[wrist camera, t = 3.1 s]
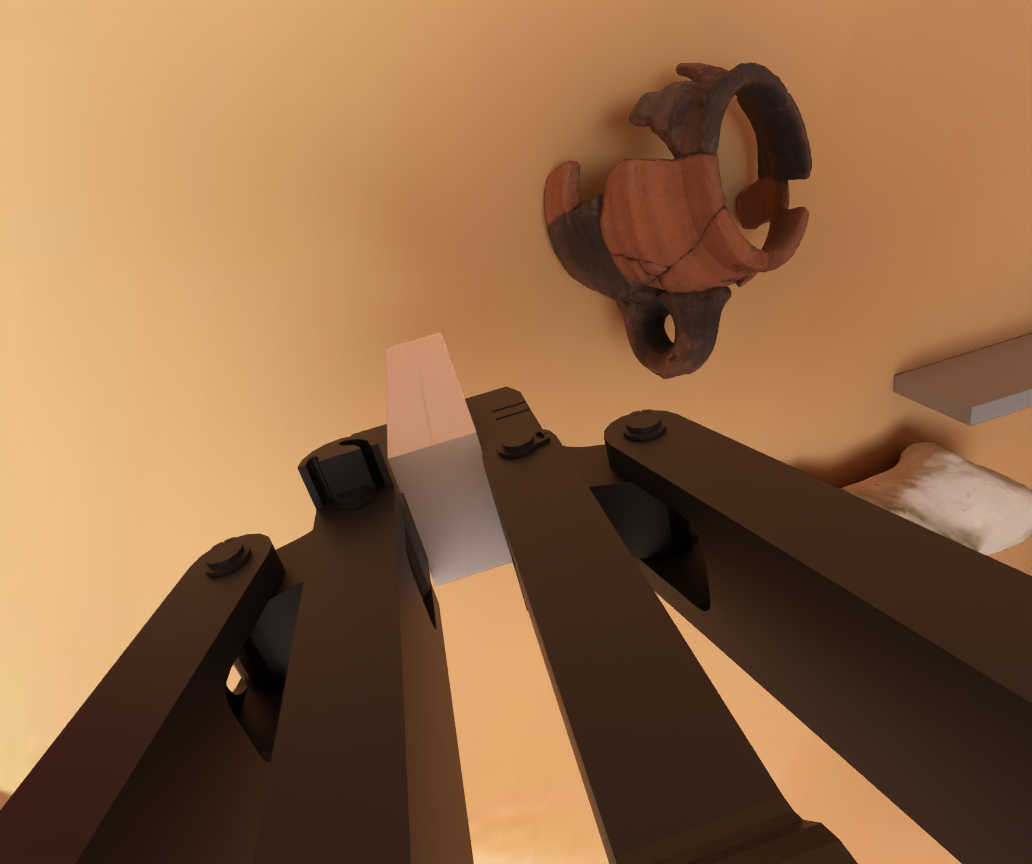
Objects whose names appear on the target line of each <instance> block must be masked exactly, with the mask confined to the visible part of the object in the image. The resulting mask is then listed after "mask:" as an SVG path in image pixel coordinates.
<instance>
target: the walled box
mask: <svg viewBox="0 0 1032 864" xmlns="http://www.w3.org/2000/svg"><path fill="white" fill-rule="evenodd" d="M894 392H895V393H897V394H900V395H902V396H904V397H906V398H909V399H911V400H913V401H915V402H918V403H920V404H922V405H924V406H927V407H929V408H931V409H933V410H936V411H938V412H940V413H942V414H945V415H947V416H949V417H951V418H954V419H956V420H958V421H960V422H963V423H965V424H967V425H969V426H971V425H975V424H978V423H981V422H984V421H987V420H990V419H993V418H997V417H1000V416H1003V415H1006V414H1009V413H1012V412H1015V411H1019V410H1022V409H1025V408H1028V407H1031V406H1032V333H1031V334H1028V335H1025V336H1021V337H1018V338H1015V339H1012V340H1008V341H1005V342H1002V343H999V344H996V345H992V346H989V347H986V348H983V349H979V350H976V351H973V352H970V353H966V354H963V355H960V356H957V357H953V358H950V359H947V360H944V361H940V362H937V363H934V364H931V365H927V366H924V367H921V368H918V369H915V370H911V371H908V372H905V373H902V374H898V375H895V376H894Z"/></svg>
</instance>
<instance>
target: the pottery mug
mask: <svg viewBox="0 0 1032 864" xmlns="http://www.w3.org/2000/svg"><path fill="white" fill-rule="evenodd" d="M676 71H677V74H678V75H681V76H685V77H688V78H690V79H691V80H692V81H693V82H692V81H683V82H676V83H672V84H670V85H668V86H667V87H665V88H664V89H662V90H661V91H658V92H650V93H647V94H645V95H643V96H642V97H641V98H640V99H639V101H638V102H637V104H636V105H635V107H634V108H633V110H632V111H631V113H630V117H629V121H630V123H631V124H633V125H635V126H649V127H650V128H651V130H652V131H653V132H654V133H655V134H657V135H658V136H659V137H660V138H661V139H662V140H663V141H664V142H665V143H666V145H667V146H668V148H669V150H670V151H671V153H672V154H673V156H674V157H675V159H673V160H668V159H657V160H650V159H649V160H645V159H643V160H635V159H626V160H624V161H622V163H621V164H619V165H618V166H616V167H615V168H614V169H613V170H612V172H611V173H610V174H609V175H608V178H607V183H606V186H605V193H604V194H598V195H596V196H595V197H593V198H592V199H591V200H589V201H588V202H587V203H585V204H583V205H581V206H580V204H579V175H580V164H579V163H578V162H576V161H568V162H566V163H564V164H563V165H562V166H561V167H560V168H559V169H557V170H556V171H555V172H553V173H551V174H550V175H549V176H548V178H547V181H546V188H545V214H546V222H547V225H548V233H549V236H550V239H551V242H552V244H553V248H554V251H555V253H556V255H557V256H558V258H559V260H560V261H561V263H562V265H563V267H564V268H565V269H566V270H567V272H568V273H569V274H570V275H571V276H572V277H573V278H574V279H576V280H577V281H579V282H580V283H581V284H583V285H584V286H586V287H588V288H590V289H592V290H595V291H598V292H600V293H602V294H604V295H606V296H608V297H611V298H612V299H613V300H616V301H617V305H618V307H619V308H620V310H621V312H622V315H623V318H624V321H625V326H626V330H627V336H628V339H629V343H630V345H631V348H632V350H633V352H634V354H635V356H636V357H637V359H638V360H639V361H640V362H641V364H642V365H644V366H645V367H646V368H648V369H649V370H651V372H653V373H655V374H656V375H659V376H660V377H662V378H663V379H668V378H673V377H675V376H680V375H683V374H691V373H693V372H695V371H696V370H697V369H698V368H700V367H701V366H702V365H703V364H704V363H705V362H706V360H707V359H708V358H709V356H710V354H711V353H712V351H713V348H714V345H715V342H716V337H717V333H718V327H719V321H720V315H721V311H722V309H723V307H724V305H725V304H726V302H727V301H728V300H729V298H730V297H731V290H730V289H729V287H725V286H728V285H731V284H734V283H736V284H737V286H738V287H741V286H743V285H744V284H746V283H747V282H748V281H749V280H751V279H752V278H753V277H754V276H755V275H756V274H757V273H758V272H767V271H770V270H774V269H776V268H778V267H779V266H781V265H783V264H784V263H786V262H787V261H788V260H789V259H790V258H791V257H792V256H793V254H794V253H795V250H796V249H797V248H798V246H799V244H800V242H801V240H802V238H803V235H804V232H805V229H806V226H807V222H808V217H809V212H808V210H807V209H806V208H805V207H797V208H794V209H789V210H788V206H789V187H788V180H797V179H807V178H809V176H810V172H811V169H812V159H811V150H810V146H809V141H808V137H807V133H806V128H805V125H804V123H803V120H802V117H801V114H800V112H799V109H798V107H797V105H796V103H795V101H794V100H793V98H792V96H791V95H790V94H789V93H788V92H787V89H786V87H785V86H784V84H783V83H782V82H781V80H780V78H779V77H778V76H776V75H774V74H773V73H772V72H771V71H770V70H769V69H767V68H766V67H765V66H762V65H759V64H756V63H747V64H746V63H741V64H739V65H737V66H736V67H735V68H734V69H732V70H730V71H727V70H725V69H723V68H721V67H714V66H711V65H706V64H701V63H680V64H678V65H677V67H676ZM734 95H736V96H737V101H738V103H739V105H740V107H741V109H742V110H743V111H744V113H745V114H746V116H747V117H748V119H749V121H750V123H751V125H752V127H753V129H754V131H755V134H756V140H757V146H758V180H757V181H756V182H755V183H754V184H752V185H750V186H749V187H748V188H747V189H746V190H745V191H744V192H743V193H741V194H740V195H739V197H738V198H737V208H738V215H739V219H740V222H741V225H742V227H743V228H745V229H756V228H758V227H759V226H760V225H761V224H763V223H767V222H770V228H769V231H768V235H767V238H766V241H765V244H764V246H763V248H762V250H759V249H757V248H756V247H754V246H753V245H751V244H750V243H749V242H748V241H747V240H746V239H745V238H744V236H743V235H742V234H741V233H740V231H739V230H738V228H737V226H736V225H735V223H734V221H733V219H732V217H731V215H730V213H729V210H728V209H727V207H726V206H725V198H724V194H723V191H722V186H721V180H720V173H719V165H718V157H717V149H718V142H719V135H720V128H721V122H722V119H723V115H724V113H725V110H726V108H727V106H728V104H729V102H730V100H731V98H732V97H733V96H734ZM657 278H658V280H659V281H660V284H661V286H662V288H663V289H664V290H662V289H659V288H653V287H649V286H645V285H647V284H649V283H650V282H653V281H654V280H655V279H657ZM669 314H671V316H672V318H673V321H674V326H675V340H674V343H673V342H671V340H670V339H669V337H668V336H667V334H666V332H665V328H664V323H665V319H666V317H667V316H668V315H669Z"/></svg>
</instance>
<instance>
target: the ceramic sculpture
mask: <svg viewBox="0 0 1032 864" xmlns="http://www.w3.org/2000/svg"><path fill="white" fill-rule="evenodd" d="M840 489H842V490H844V491H846V492H848V493H851V494H853V495H855V496H857V497H859V498H861V499H864V500H866V501H868V502H870V503H872V504H875V505H877V506H879V507H881V508H883V509H886V510H888V511H890V512H892V513H894V514H896V515H899V516H901V517H903V518H905V519H907V520H910V521H912V522H914V523H916V524H918V525H921V526H923V527H925V528H927V529H929V530H931V531H934V532H936V533H938V534H940V535H942V536H945V537H947V538H949V539H951V540H953V541H956V542H958V543H960V544H962V545H964V546H966V547H969V548H971V549H973V550H975V551H977V552H980V553H982V554H984V555H990V554H994V553H997V552H1000V551H1002V550H1004V549H1006V548H1009V547H1012V546H1015V545H1018V544H1020V543H1021V542H1023V541H1024V540H1025V539H1026V538H1028V537H1029V536H1030V535H1031V534H1032V490H1031V489H1029V488H1028V487H1026V486H1025V485H1023V484H1020V483H1018V482H1015V481H1014V480H1012V479H1010V478H1008V477H1007V476H1004V475H1002V474H1000V473H998V472H995V471H993V470H991V469H988V468H986V467H983V466H980V465H976V464H974V463H972V462H970V461H968V460H966V459H964V458H962V457H961V456H959V455H957V454H956V453H954V452H951V451H949V450H946V449H944V448H943V447H942V446H941V445H939V444H936V443H932V442H919V443H914V444H912V445H910V446H909V447H907V448H906V449H905V450H904V451H903V452H902V453H901V455H900V460H899V463H898V464H897V465H896V466H895V467H894V468H892V469H890V470H888V471H886V472H883V473H880V474H877V475H874V476H872V477H870V478H868V479H866V480H864V481H861V482H858V483H854V484H851V485H848V486H845V487H843V488H840Z"/></svg>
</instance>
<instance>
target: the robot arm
mask: <svg viewBox="0 0 1032 864" xmlns="http://www.w3.org/2000/svg"><path fill="white" fill-rule="evenodd" d="M386 397H387V424H385V425H382V426H379V427H375V428H372V429H369V430H365V431H362V432H359V433H355V434H352V435H351V437H346V438H341V439H338V440H336V441H333V442H330V443H328V444H325V445H323V446H322V447H320V448H318V449H316V450H314V451H313V452H311V453H310V454H309V455H308V456H306V457H305V458H304V459H303V460H302V461H301V463H300V464H299V466H298V470H299V472H300V474H301V477H302V479H303V481H304V483H305V485H306V488H307V490H308V492H309V494H310V496H311V499H312V501H313V503H314V505H315V507H316V510H317V511H316V516H315V522H314V527H313V530H312V531H311V532H309V533H308V534H306V535H304V536H302V537H301V538H299V539H297V540H295V541H293V542H291V543H289V544H287V545H285V546H283V547H281V548H279V549H277V550H275V548H274V546H273V544H272V542H271V540H270V538H269V537H268V536H265V535H262V534H247V535H243V536H240V537H236V538H235V537H233V538H230V539H227V540H225V541H224V543H223V542H221V543H219V544H217V545H215V546H214V547H212V549H211V550H209V551H208V552H207V553H205V554H204V555H202V556H201V557H200V558H199V559H198V560H197V561H196V562H195V563H194V564H193V565H192V566H191V567H190V568H189V569H188V570H187V572H186V573H185V574H184V575H183V577H182V578H181V579H180V581H179V582H178V583H177V584H176V586H175V587H174V588H173V589H172V591H171V592H170V593H169V595H168V596H167V597H166V598H165V600H164V601H163V602H162V604H161V605H160V606H159V607H158V609H157V610H156V611H155V613H154V614H153V615H152V616H151V618H150V619H149V620H148V622H147V623H146V624H145V625H144V627H143V628H142V629H141V631H140V632H139V633H138V634H137V636H136V637H135V638H134V639H133V641H132V642H131V643H130V645H129V646H128V647H127V648H126V650H125V651H124V652H123V654H122V655H121V656H120V657H119V659H118V660H117V661H116V663H115V664H114V665H113V666H112V668H111V669H110V670H109V672H108V673H107V674H106V675H105V677H104V678H103V679H102V681H101V682H100V683H99V684H98V686H97V687H96V688H95V689H94V691H93V692H92V693H91V695H90V696H89V697H88V698H87V700H86V701H85V702H84V704H83V705H82V706H81V707H80V709H79V710H78V711H77V713H76V714H75V715H74V716H73V718H72V719H71V720H70V722H69V723H68V724H67V725H66V727H65V728H64V729H63V731H62V732H61V733H60V734H59V736H58V737H57V738H56V739H55V741H54V742H53V743H52V745H51V746H50V747H49V748H48V750H47V751H46V752H45V754H44V755H43V756H42V757H41V759H40V760H39V761H38V763H37V764H36V765H35V766H34V768H33V769H32V770H31V772H30V773H29V774H28V775H27V777H26V778H25V779H24V781H23V782H22V783H21V784H20V786H19V787H18V788H17V789H16V791H15V792H14V793H13V795H12V796H11V797H10V798H9V800H8V801H7V802H6V804H5V805H4V806H3V808H2V809H1V810H0V864H474V863H473V855H472V848H471V840H470V833H469V825H468V818H467V810H466V803H465V795H464V788H463V780H462V773H461V765H460V758H459V750H458V743H457V735H456V728H455V721H454V713H453V706H452V698H451V691H450V683H449V676H448V668H447V661H446V653H445V646H444V638H443V631H442V623H441V616H440V608H439V603H438V600H437V598H436V595H435V592H434V590H433V587H432V585H431V581H430V573H431V575H432V578H433V581H434V583H435V586H439V585H442V584H446V583H449V582H452V581H455V580H458V579H461V578H464V577H467V576H470V575H473V574H477V573H480V572H483V571H486V570H489V569H492V568H495V567H498V566H501V565H504V564H508V563H511V562H513V564H514V568H515V571H516V574H517V578H518V581H519V585H520V588H521V591H522V595H523V598H524V601H525V605H526V608H527V611H528V612H529V615H530V618H531V621H532V624H533V628H534V631H535V634H536V637H537V640H538V643H539V646H540V649H541V652H542V656H543V659H544V662H545V665H546V668H547V671H548V674H549V677H550V680H551V684H552V687H553V690H554V693H555V696H556V699H557V702H558V705H559V708H560V712H561V715H562V718H563V721H564V724H565V727H566V730H567V733H568V736H569V740H570V743H571V746H572V749H573V752H574V755H575V758H576V761H577V764H578V768H579V771H580V774H581V777H582V780H583V783H584V786H585V789H586V792H587V795H588V799H589V802H590V805H591V808H592V811H593V814H594V817H595V820H596V823H597V827H598V830H599V833H600V836H601V839H602V842H603V845H604V848H605V851H606V855H607V858H608V861H609V864H858V863H857V862H856V861H855V859H854V858H853V857H852V855H851V854H850V853H849V851H848V850H847V849H846V848H845V846H844V845H843V844H842V842H841V841H840V840H839V839H838V838H837V837H836V836H835V835H834V834H833V833H832V832H831V831H829V830H828V829H827V828H826V827H825V826H824V825H823V824H822V823H819V822H813V821H807V820H803V819H802V818H801V817H800V816H799V815H798V814H797V813H795V812H794V811H793V809H792V808H791V806H790V805H789V804H788V802H787V801H786V799H785V798H784V797H783V795H782V793H781V792H780V790H779V789H778V787H777V786H776V784H775V782H774V781H773V779H772V778H771V776H770V774H769V773H768V771H767V770H766V768H765V766H764V765H763V763H762V762H761V760H760V759H759V757H758V755H757V754H756V752H755V751H754V749H753V747H752V746H751V744H750V743H749V741H748V739H747V738H746V736H745V735H744V733H743V732H742V730H741V728H740V727H739V725H738V724H737V722H736V720H735V719H734V717H733V716H732V714H731V712H730V711H729V709H728V708H727V706H726V705H725V703H724V701H723V700H722V698H721V697H720V695H719V693H718V692H717V690H716V689H715V687H714V685H713V684H712V682H711V681H710V679H709V678H708V676H707V674H706V673H705V671H704V670H703V668H702V666H701V665H700V663H699V662H698V660H697V658H696V657H695V655H694V654H693V652H692V651H691V649H690V647H689V646H688V644H687V643H686V641H685V639H684V638H683V636H682V635H681V633H680V631H679V630H678V628H677V627H676V625H675V624H674V622H673V620H672V619H671V617H670V616H669V614H668V612H667V611H666V609H665V608H664V606H663V604H662V603H661V601H660V600H659V598H658V597H657V595H656V593H657V594H658V595H660V596H661V597H662V598H663V599H664V600H665V601H666V602H667V603H669V604H670V605H671V606H672V607H673V608H674V609H675V610H676V611H678V612H679V613H680V614H681V615H682V616H683V617H684V618H685V619H687V620H688V621H689V622H690V623H691V624H692V625H693V626H694V627H696V628H697V629H698V630H699V631H700V632H701V633H702V634H704V635H705V636H706V637H707V638H708V639H709V640H710V641H711V642H713V643H714V644H715V645H716V646H717V647H718V648H719V649H720V650H722V651H723V652H724V653H725V654H726V655H727V656H728V657H729V658H731V659H732V660H733V661H734V662H735V663H736V664H737V665H738V666H740V667H741V668H742V669H743V670H744V671H745V672H746V673H748V674H749V675H750V676H751V677H752V678H753V679H754V680H755V681H757V682H758V683H759V684H760V685H761V686H762V687H763V688H764V689H766V690H767V691H768V692H769V693H770V694H771V695H772V696H773V697H775V698H776V699H777V700H778V701H779V702H780V703H781V704H782V705H784V706H785V707H786V708H787V709H788V710H789V711H790V712H792V713H793V714H794V715H795V716H796V717H797V718H798V719H799V720H801V721H802V722H803V723H804V724H805V725H806V726H807V727H808V728H810V729H811V730H812V731H813V732H814V733H815V734H816V735H817V736H819V737H820V738H821V739H822V740H823V741H824V742H825V743H826V744H828V745H829V746H830V747H831V748H832V749H833V750H834V751H836V752H837V753H838V754H839V755H840V756H841V757H842V758H843V759H845V760H846V761H847V762H848V763H849V764H850V765H851V766H852V767H854V768H855V769H856V770H857V771H858V772H859V773H860V774H861V775H863V776H864V777H865V778H866V779H867V780H868V781H869V782H870V783H872V784H873V785H874V786H875V787H876V788H877V789H878V790H879V791H881V792H882V793H883V794H884V795H885V796H886V797H887V798H889V799H890V800H891V801H892V802H893V803H894V804H895V805H896V806H898V807H899V808H900V809H901V810H902V811H903V812H904V813H905V814H907V815H908V816H909V817H910V818H911V819H912V820H913V821H914V822H916V823H917V824H918V825H919V826H920V827H921V828H922V829H923V830H925V831H926V832H927V833H928V834H929V835H930V836H931V837H933V838H934V839H935V840H936V841H937V842H938V843H939V844H940V845H942V846H943V847H944V848H945V849H946V850H947V851H948V852H949V853H951V854H952V855H953V856H954V857H955V858H956V859H957V860H958V861H960V862H961V863H962V864H1032V576H1030V575H1028V574H1026V573H1023V572H1021V571H1019V570H1017V569H1015V568H1012V567H1010V566H1008V565H1006V564H1004V563H1001V562H999V561H997V560H995V559H993V558H991V557H988V556H986V555H984V554H982V553H980V552H977V551H975V550H973V549H971V548H969V547H966V546H964V545H962V544H960V543H958V542H956V541H953V540H951V539H949V538H947V537H945V536H942V535H940V534H938V533H936V532H934V531H931V530H929V529H927V528H925V527H923V526H921V525H918V524H916V523H914V522H912V521H910V520H907V519H905V518H903V517H901V516H899V515H896V514H894V513H892V512H890V511H888V510H886V509H883V508H881V507H879V506H877V505H875V504H872V503H870V502H868V501H866V500H864V499H861V498H859V497H857V496H855V495H853V494H851V493H848V492H846V491H844V490H842V489H840V488H837V487H835V486H833V485H831V484H829V483H826V482H824V481H822V480H820V479H818V478H816V477H813V476H811V475H809V474H807V473H805V472H802V471H800V470H798V469H796V468H794V467H791V466H789V465H787V464H785V463H783V462H781V461H778V460H776V459H774V458H772V457H770V456H767V455H765V454H763V453H761V452H759V451H756V450H754V449H752V448H750V447H748V446H746V445H743V444H741V443H739V442H737V441H735V440H732V439H730V438H728V437H726V436H724V435H721V434H719V433H717V432H715V431H713V430H711V429H708V428H706V427H704V426H702V425H700V424H697V423H695V422H693V421H691V420H689V419H686V418H684V417H682V416H680V415H678V414H675V413H671V412H667V411H655V410H642V412H640V411H636V412H632V413H631V414H629V415H626V416H623V417H620V418H619V419H617V420H615V421H614V422H612V423H610V425H609V426H608V427H607V428H606V430H605V431H604V440H605V445H597V446H590V447H566V446H562V444H561V442H560V441H559V439H558V438H557V436H556V435H555V434H553V433H552V432H551V431H549V430H544V429H542V428H541V426H540V424H539V423H538V421H537V419H536V418H535V416H534V414H533V413H532V411H531V410H530V408H529V406H528V404H527V403H526V401H525V399H524V398H523V396H522V394H521V393H520V392H519V391H516V390H514V389H511V388H509V387H503V388H500V389H497V390H493V391H490V392H487V393H483V394H480V395H477V396H473V397H470V398H467V399H465V398H464V395H463V392H462V390H461V387H460V384H459V381H458V378H457V375H456V373H455V370H454V367H453V364H452V361H451V358H450V355H449V353H448V350H447V347H446V344H445V341H444V338H443V335H442V333H441V332H439V333H436V334H432V335H429V336H425V337H422V338H418V339H415V340H411V341H408V342H404V343H401V344H397V345H394V346H391V347H387V348H386ZM429 570H430V572H429ZM654 591H655V592H656V593H655V592H654ZM233 665H234V666H235V668H236V670H237V671H238V673H239V674H240V676H241V679H240V681H239V683H238V685H237V687H236V689H235V690H234V691H233V692H231V691H230V690H229V689H228V687H227V686H226V682H227V679H228V676H229V673H230V670H231V667H232V666H233Z"/></svg>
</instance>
